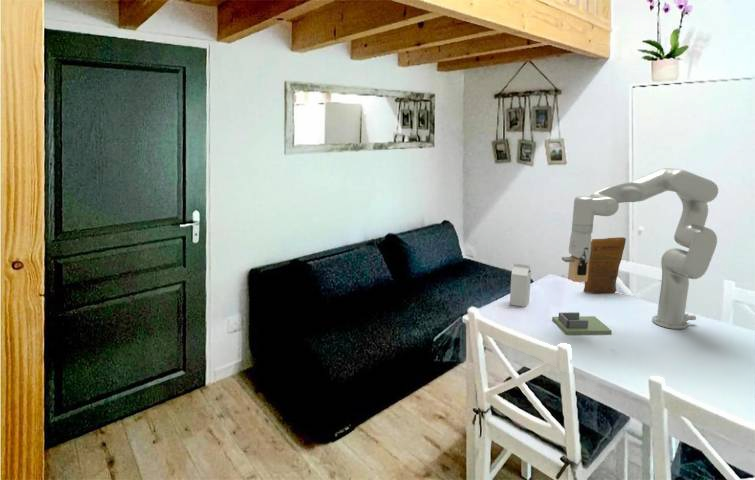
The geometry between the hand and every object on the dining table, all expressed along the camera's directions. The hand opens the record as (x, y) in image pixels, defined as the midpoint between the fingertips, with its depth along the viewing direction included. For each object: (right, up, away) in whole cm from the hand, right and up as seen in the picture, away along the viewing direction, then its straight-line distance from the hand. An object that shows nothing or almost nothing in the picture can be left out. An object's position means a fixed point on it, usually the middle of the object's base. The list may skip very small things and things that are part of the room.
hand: (578, 272), depth 191 cm
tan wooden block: (-2, -3, +1) cm, 3 cm away
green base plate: (+3, -23, +5) cm, 23 cm away
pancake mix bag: (+31, -13, +47) cm, 58 cm away
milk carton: (-14, -17, +32) cm, 39 cm away
